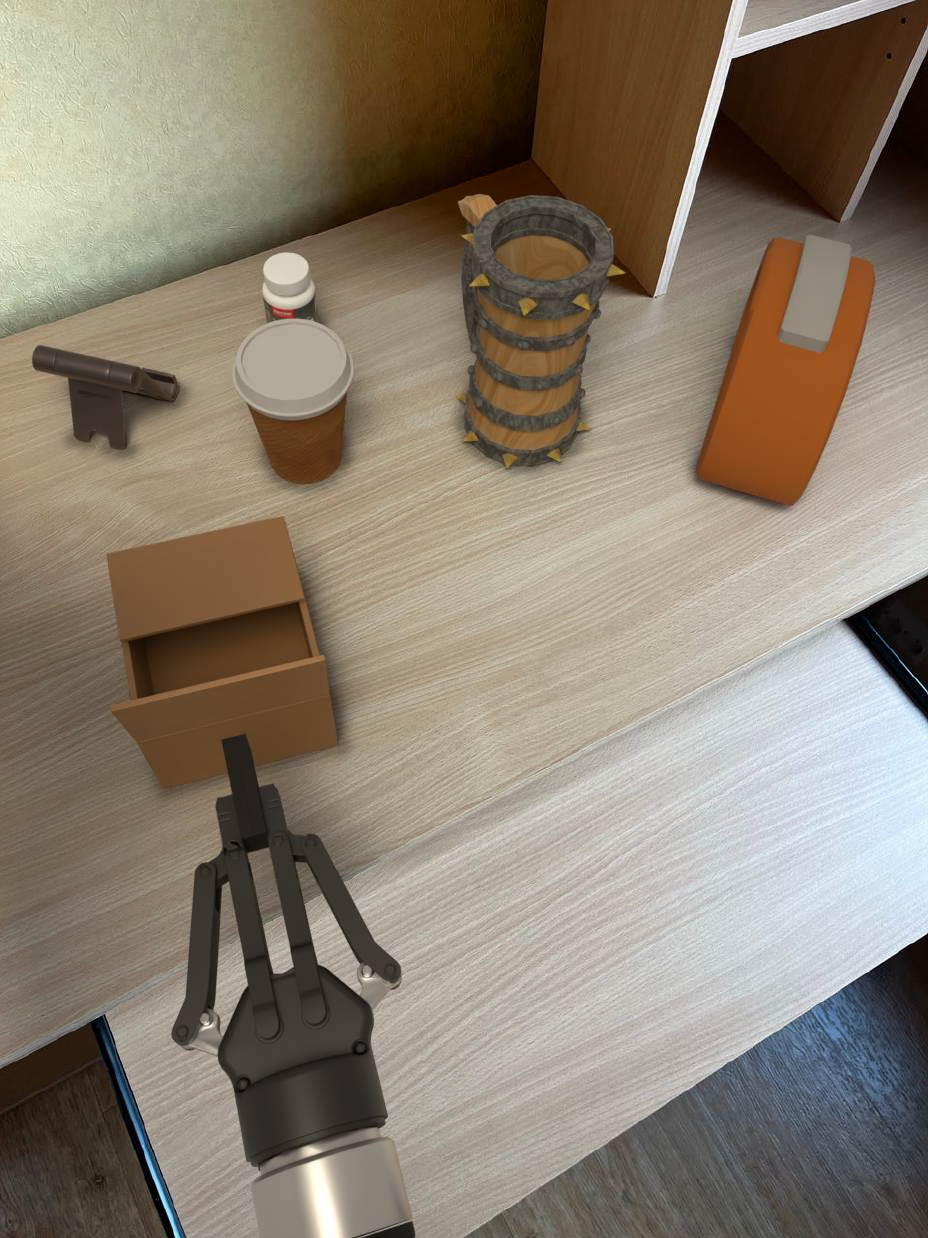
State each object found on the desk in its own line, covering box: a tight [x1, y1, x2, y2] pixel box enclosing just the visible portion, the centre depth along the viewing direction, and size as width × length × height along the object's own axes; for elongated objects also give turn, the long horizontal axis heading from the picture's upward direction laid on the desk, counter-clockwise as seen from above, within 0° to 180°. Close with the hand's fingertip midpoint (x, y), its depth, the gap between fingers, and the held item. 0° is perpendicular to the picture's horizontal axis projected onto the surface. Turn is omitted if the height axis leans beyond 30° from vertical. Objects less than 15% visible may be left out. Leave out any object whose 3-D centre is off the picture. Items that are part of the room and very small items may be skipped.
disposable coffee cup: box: [231, 319, 355, 485], centre depth 88 cm, size 10×10×12 cm
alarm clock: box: [695, 234, 876, 506], centre depth 90 cm, size 23×9×17 cm, turn 161°
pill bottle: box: [261, 251, 319, 324], centre depth 96 cm, size 5×5×8 cm
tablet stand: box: [31, 344, 179, 451], centre depth 91 cm, size 9×8×8 cm
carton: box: [106, 515, 339, 790], centre depth 78 cm, size 13×15×9 cm
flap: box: [108, 654, 330, 743], centre depth 67 cm, size 13×7×1 cm
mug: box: [454, 193, 626, 469], centre depth 88 cm, size 13×17×20 cm
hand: (236, 745), depth 66 cm, fingers closed
